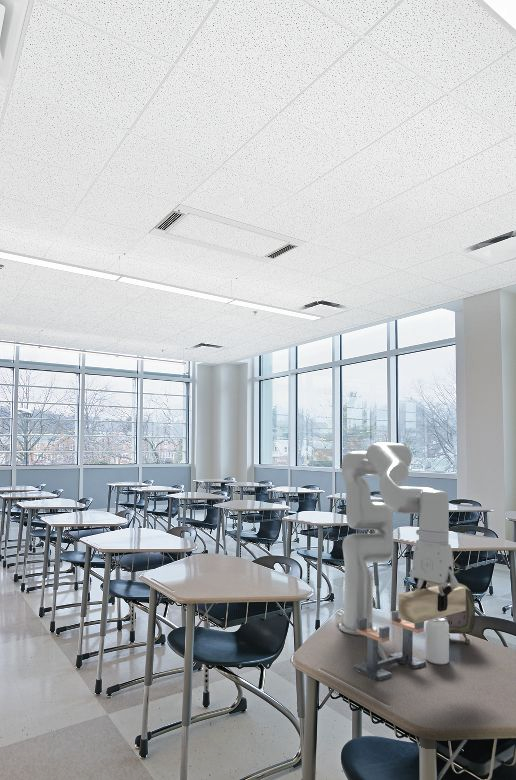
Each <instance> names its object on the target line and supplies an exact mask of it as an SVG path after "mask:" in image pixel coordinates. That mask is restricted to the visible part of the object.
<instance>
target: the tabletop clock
mask: <svg viewBox="0 0 516 780" xmlns="http://www.w3.org/2000/svg"><path fill="white" fill-rule="evenodd" d="M453 565H455V566H456V567H457V570H456V571H454V575H457V574H458V573H460V570H461V569H460V568H461V567H460V565H459V564H458V563H456V562H455V561H453ZM458 583H459V586H461V587H465V588H466V611H462V612H458V613H454V614H450V615H447V616H443V617H445V618H447V622H448V624H449V638H450V637H451V636H450V634H458V635H460V634H462V635H463V637H464V643H465V644H466V645H469V644H470V643H471V640H470V638H468V637H467V635H466V634H469V633H471V632H472V631H473V629H474V626H475V621H476V620H475V618H476V607H475V598H474V595H473V593H472V591H471V590H470V588H469V587H468V586H467V585H465V584H463V583H460V582H458ZM448 584H449V583H448ZM450 584H451V582H450ZM434 586H438V584H436V583H432V582H428V584H427V588H430V587H434Z"/></svg>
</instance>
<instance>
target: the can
mask: <svg viewBox="0 0 516 780" xmlns="http://www.w3.org/2000/svg"><path fill="white" fill-rule="evenodd" d="M449 635H450V633H449V624H448V622H447V618H445V617H439V618H435V619H431V620H427V621H425V659H426V661H427V662H429V663H430V664H434V665H439V666H441V665H442V666H443V665H447V664H448V663H449V662H450V637H449Z"/></svg>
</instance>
